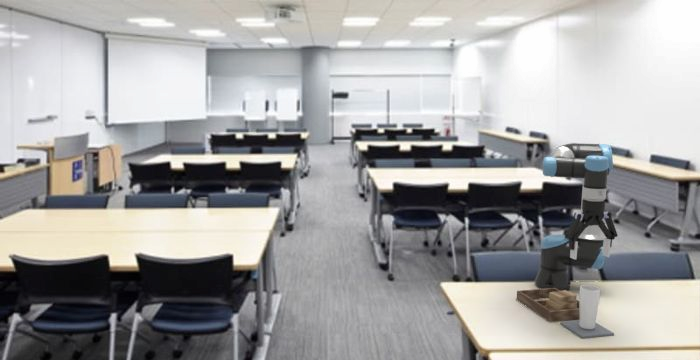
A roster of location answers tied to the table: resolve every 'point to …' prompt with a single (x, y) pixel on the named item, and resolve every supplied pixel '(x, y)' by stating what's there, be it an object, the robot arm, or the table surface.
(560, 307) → the offcut middle
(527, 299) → the tray
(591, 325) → the drinking glass
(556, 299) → the offcut top
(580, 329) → the mat
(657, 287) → the table surface
